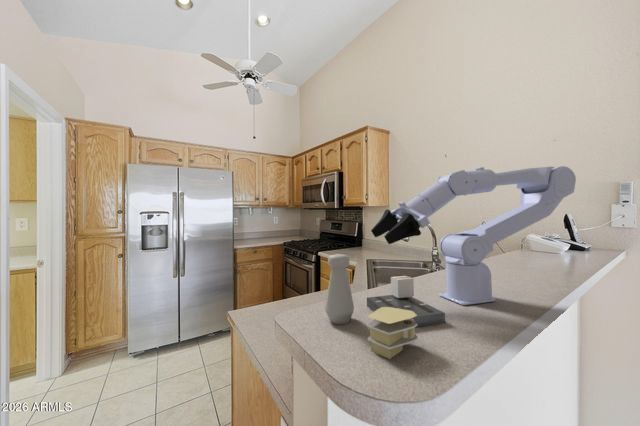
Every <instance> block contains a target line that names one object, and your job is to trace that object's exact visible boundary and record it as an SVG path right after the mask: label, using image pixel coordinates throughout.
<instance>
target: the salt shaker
mask: <svg viewBox="0 0 640 426" xmlns="http://www.w3.org/2000/svg"><path fill="white" fill-rule="evenodd" d="M327 265H328V267H330V274H329V275H330V276H329V282H328V286H327V287H328V288H327V292H326V297H325V298H326V299H325V304H324V305H325V306H324V311H325V313H326V314H327V316H328V319H329V322H330V323H333V324H335V325H343V324H348V323H349V322H350V321H351V318H352V316H353V313H354V310H355V306H354V301H353V295H352V289H351V284H350V279H349V274H348V267H349V266H350V258H349V256H348V255H346V254H341V253H336V254H335V253H334V254H331V255H329V256H328V258H327Z"/></svg>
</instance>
